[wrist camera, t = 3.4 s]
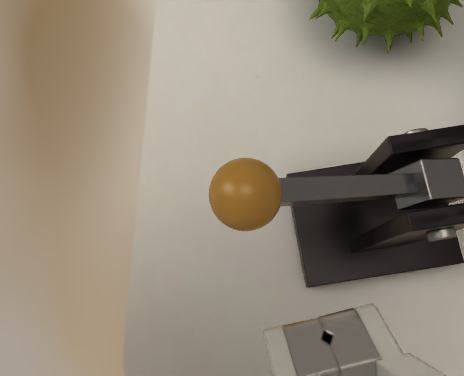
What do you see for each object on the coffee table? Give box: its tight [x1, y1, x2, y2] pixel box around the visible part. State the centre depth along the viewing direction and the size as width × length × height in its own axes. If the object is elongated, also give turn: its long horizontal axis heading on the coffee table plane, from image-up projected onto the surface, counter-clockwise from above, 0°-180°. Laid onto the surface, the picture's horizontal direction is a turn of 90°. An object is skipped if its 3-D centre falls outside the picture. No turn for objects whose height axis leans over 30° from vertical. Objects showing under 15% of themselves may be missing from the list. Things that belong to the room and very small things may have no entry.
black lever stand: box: [286, 125, 464, 287], centre depth 29 cm, size 12×9×14 cm
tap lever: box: [209, 158, 464, 231], centre depth 21 cm, size 14×3×3 cm, turn 98°
